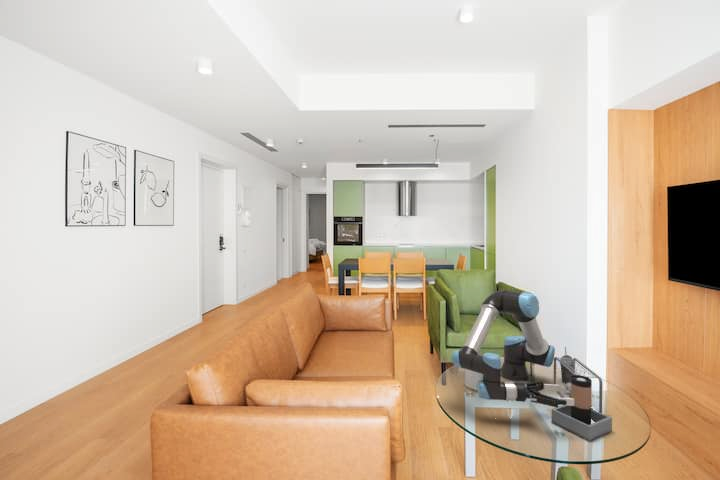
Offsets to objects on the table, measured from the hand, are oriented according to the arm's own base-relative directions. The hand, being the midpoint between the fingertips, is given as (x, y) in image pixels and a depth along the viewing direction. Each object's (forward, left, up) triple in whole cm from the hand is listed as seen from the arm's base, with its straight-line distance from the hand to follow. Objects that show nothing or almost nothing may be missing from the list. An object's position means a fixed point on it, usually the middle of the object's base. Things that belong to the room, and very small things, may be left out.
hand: (566, 394), depth 151 cm
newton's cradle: (-27, -12, -14) cm, 33 cm away
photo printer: (+7, -46, -14) cm, 48 cm away
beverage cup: (-45, -28, -14) cm, 55 cm away
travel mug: (-5, +3, -13) cm, 14 cm away
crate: (-5, +3, -14) cm, 15 cm away
